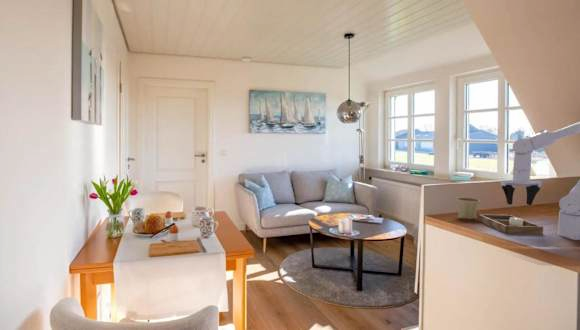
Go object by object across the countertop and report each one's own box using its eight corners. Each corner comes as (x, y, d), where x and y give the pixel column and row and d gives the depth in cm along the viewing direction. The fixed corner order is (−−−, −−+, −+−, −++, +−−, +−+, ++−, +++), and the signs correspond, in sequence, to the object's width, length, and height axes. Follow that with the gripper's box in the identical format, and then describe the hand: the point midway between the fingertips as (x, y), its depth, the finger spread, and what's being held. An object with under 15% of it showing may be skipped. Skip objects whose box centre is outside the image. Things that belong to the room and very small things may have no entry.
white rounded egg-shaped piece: (524, 231, 141) (525, 220, 141) (513, 231, 141) (513, 219, 141) (517, 228, 146) (518, 217, 145) (506, 228, 146) (507, 217, 145)
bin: (542, 236, 138) (543, 227, 138) (505, 235, 138) (506, 226, 138) (509, 223, 159) (510, 215, 158) (477, 222, 158) (477, 214, 158)
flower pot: (482, 219, 165) (483, 199, 164) (473, 222, 159) (474, 201, 158) (460, 215, 172) (461, 196, 171) (451, 218, 165) (452, 198, 165)
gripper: (534, 169, 152) (531, 203, 153) (497, 168, 152) (495, 202, 153) (545, 170, 145) (543, 206, 146) (507, 170, 145) (504, 205, 146)
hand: (519, 204), depth 149 cm, fingers open, 7 cm apart
